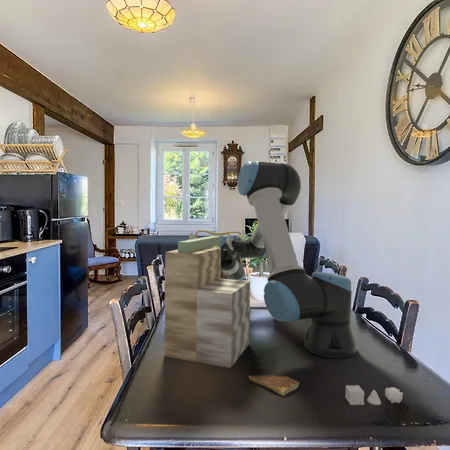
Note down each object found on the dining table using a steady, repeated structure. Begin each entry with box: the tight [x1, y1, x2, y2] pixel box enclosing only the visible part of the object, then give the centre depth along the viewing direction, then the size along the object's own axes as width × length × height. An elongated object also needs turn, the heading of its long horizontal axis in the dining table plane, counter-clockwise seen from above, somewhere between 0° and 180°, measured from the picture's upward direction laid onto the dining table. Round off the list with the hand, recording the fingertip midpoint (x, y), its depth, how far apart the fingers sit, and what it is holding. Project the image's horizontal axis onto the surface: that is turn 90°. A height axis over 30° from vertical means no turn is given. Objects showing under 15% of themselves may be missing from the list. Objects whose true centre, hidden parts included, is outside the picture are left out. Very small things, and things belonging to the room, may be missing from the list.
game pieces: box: [344, 384, 404, 406], centre depth 77 cm, size 12×3×3 cm, turn 91°
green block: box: [177, 235, 222, 253], centre depth 109 cm, size 26×3×3 cm, turn 160°
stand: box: [164, 247, 251, 369], centre depth 103 cm, size 18×20×30 cm
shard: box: [247, 374, 300, 397], centre depth 85 cm, size 11×8×2 cm
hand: (208, 237), depth 114 cm, fingers open, 13 cm apart
